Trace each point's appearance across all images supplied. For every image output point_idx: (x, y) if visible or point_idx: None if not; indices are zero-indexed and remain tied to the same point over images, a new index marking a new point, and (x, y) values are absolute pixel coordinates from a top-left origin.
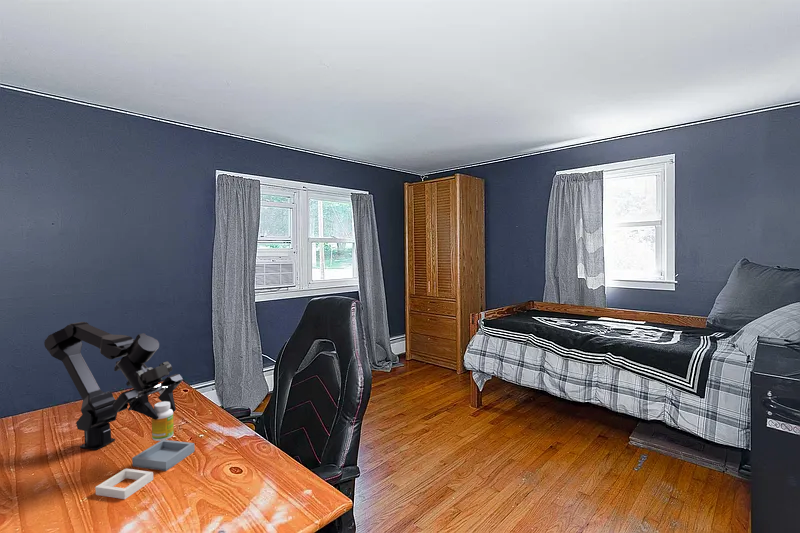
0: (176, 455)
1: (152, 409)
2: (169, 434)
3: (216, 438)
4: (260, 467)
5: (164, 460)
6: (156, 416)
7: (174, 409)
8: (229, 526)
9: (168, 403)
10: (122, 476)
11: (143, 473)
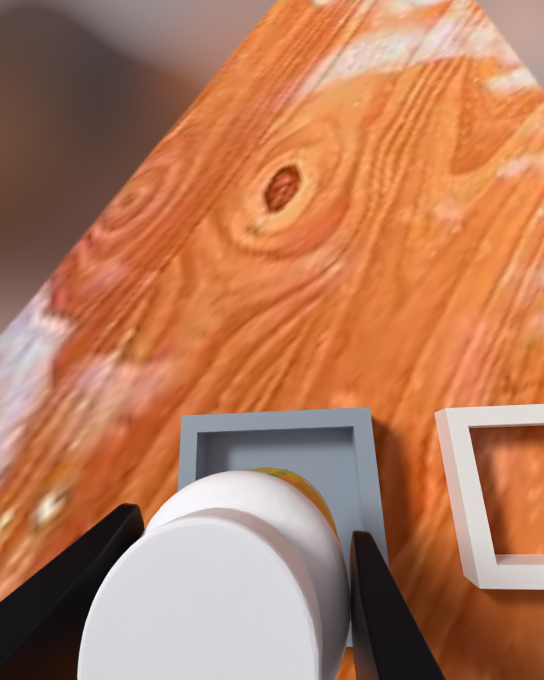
0: (302, 410)
1: (406, 670)
2: (277, 468)
3: (76, 410)
4: (251, 138)
5: (360, 426)
6: (377, 546)
7: (132, 510)
8: (511, 48)
9: (158, 551)
10: (508, 558)
11: (471, 445)
